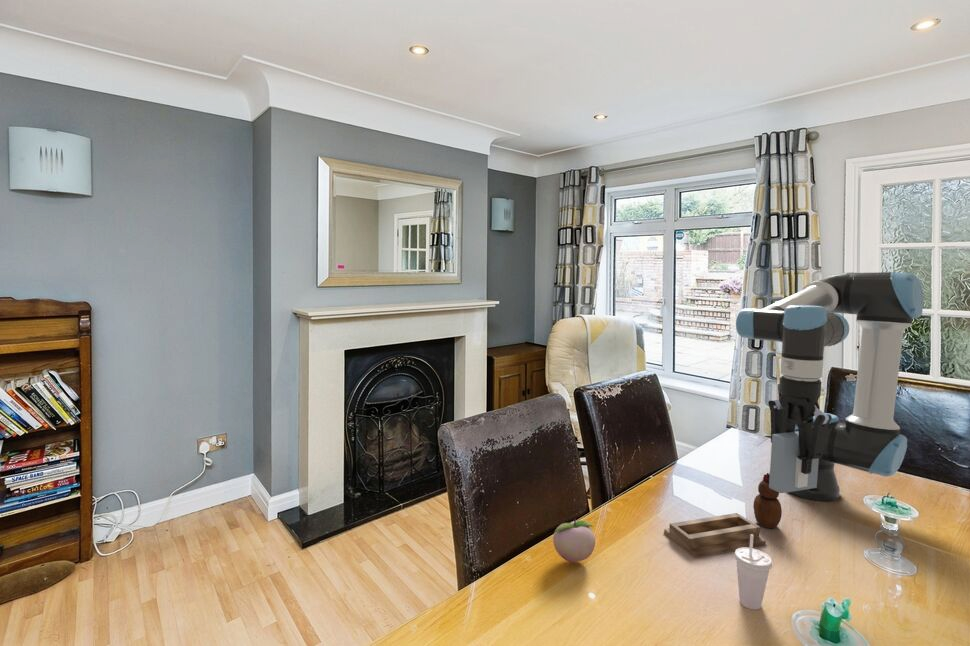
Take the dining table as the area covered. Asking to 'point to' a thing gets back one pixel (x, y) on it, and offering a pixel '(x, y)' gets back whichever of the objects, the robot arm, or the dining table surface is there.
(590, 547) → the decorative fruit
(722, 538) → the wooden tray
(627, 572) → the dining table surface
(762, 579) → the smoothie
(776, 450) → the gray rectangular block
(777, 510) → the wooden figurine
